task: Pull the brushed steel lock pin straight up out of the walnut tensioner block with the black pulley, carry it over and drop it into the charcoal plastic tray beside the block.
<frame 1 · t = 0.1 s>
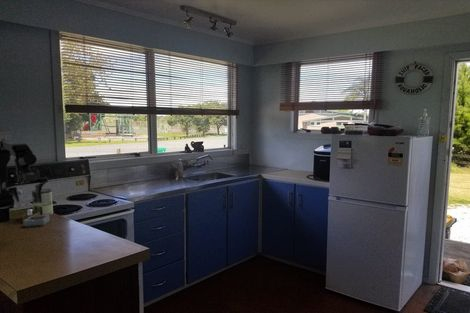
hand: (28, 200, 168), 15 cm above the table, tool pointing down, fingers open, 9 cm apart
lock pin: (30, 220, 189), resting in tensioner block
coffee can: (43, 214, 202), on the table
tensioner block: (31, 219, 191), on the table
pin tray: (37, 223, 182), on the table
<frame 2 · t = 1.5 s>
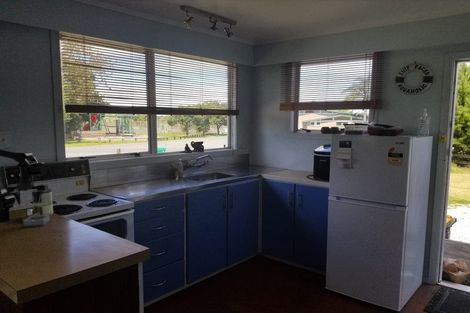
hand: (28, 203, 188), 9 cm above the table, tool pointing down, fingers open, 9 cm apart
nothing on the table moved.
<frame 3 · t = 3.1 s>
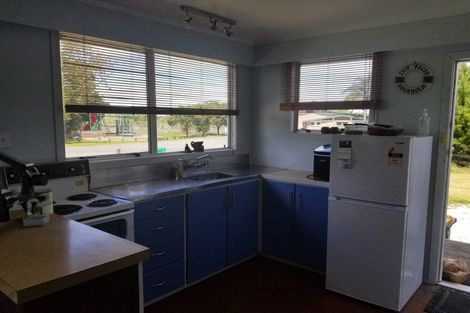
hand: (29, 214, 188), 4 cm above the table, tool pointing down, fingers closed on lock pin, 2 cm apart
lock pin: (30, 220, 189), resting in tensioner block, touching gripper
everything else where it was.
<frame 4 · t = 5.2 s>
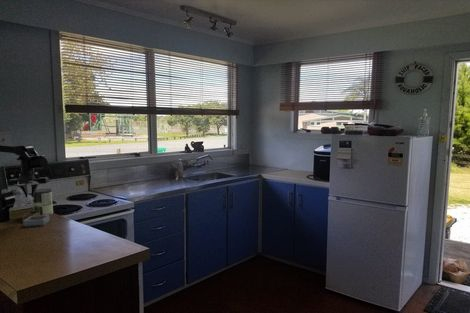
hand: (29, 197, 186), 13 cm above the table, tool pointing down, fingers closed on lock pin, 2 cm apart
lock pin: (30, 203, 187), point 10 cm above the table, touching gripper
everything else where it was.
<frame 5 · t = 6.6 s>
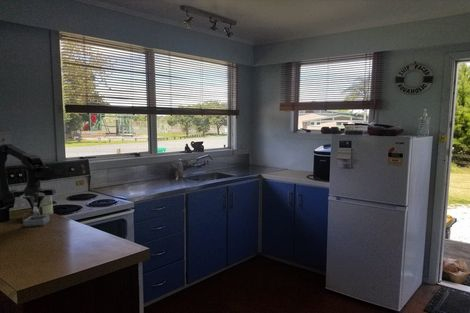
hand: (35, 208, 181), 8 cm above the table, tool pointing down, fingers closed on lock pin, 2 cm apart
lock pin: (36, 215, 182), point 4 cm above the table, touching gripper
everything else where it was.
when the fingers open (6 cm above the table, at t = 7.6 s): lock pin drops 2 cm, resting on pin tray.
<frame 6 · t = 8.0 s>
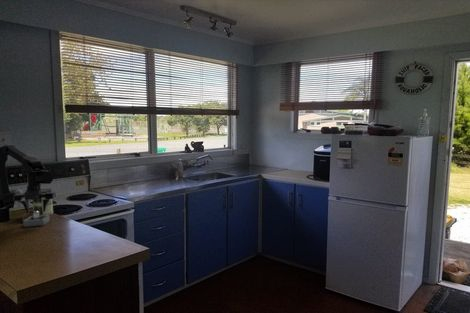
hand: (36, 212, 182), 6 cm above the table, tool pointing down, fingers open, 7 cm apart
lock pin: (36, 222, 182), point 1 cm above the table, touching pin tray
everything else where it was.
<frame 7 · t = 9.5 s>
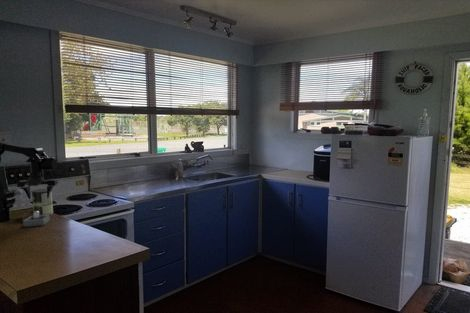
hand: (38, 198, 188), 12 cm above the table, tool pointing down, fingers open, 9 cm apart
nothing on the table moved.
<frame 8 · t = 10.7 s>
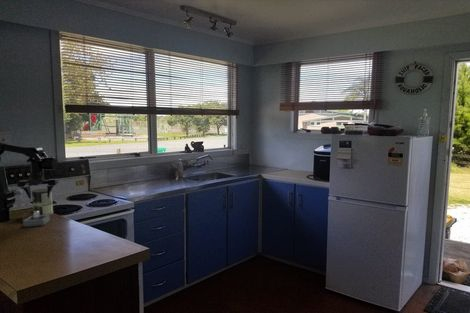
hand: (39, 198, 188), 12 cm above the table, tool pointing down, fingers open, 9 cm apart
nothing on the table moved.
at the end: lock pin inside the target area on the pin tray (0.2 cm from its centre), point 0.6 cm above the pin tray's base; the gripper is holding nothing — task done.
